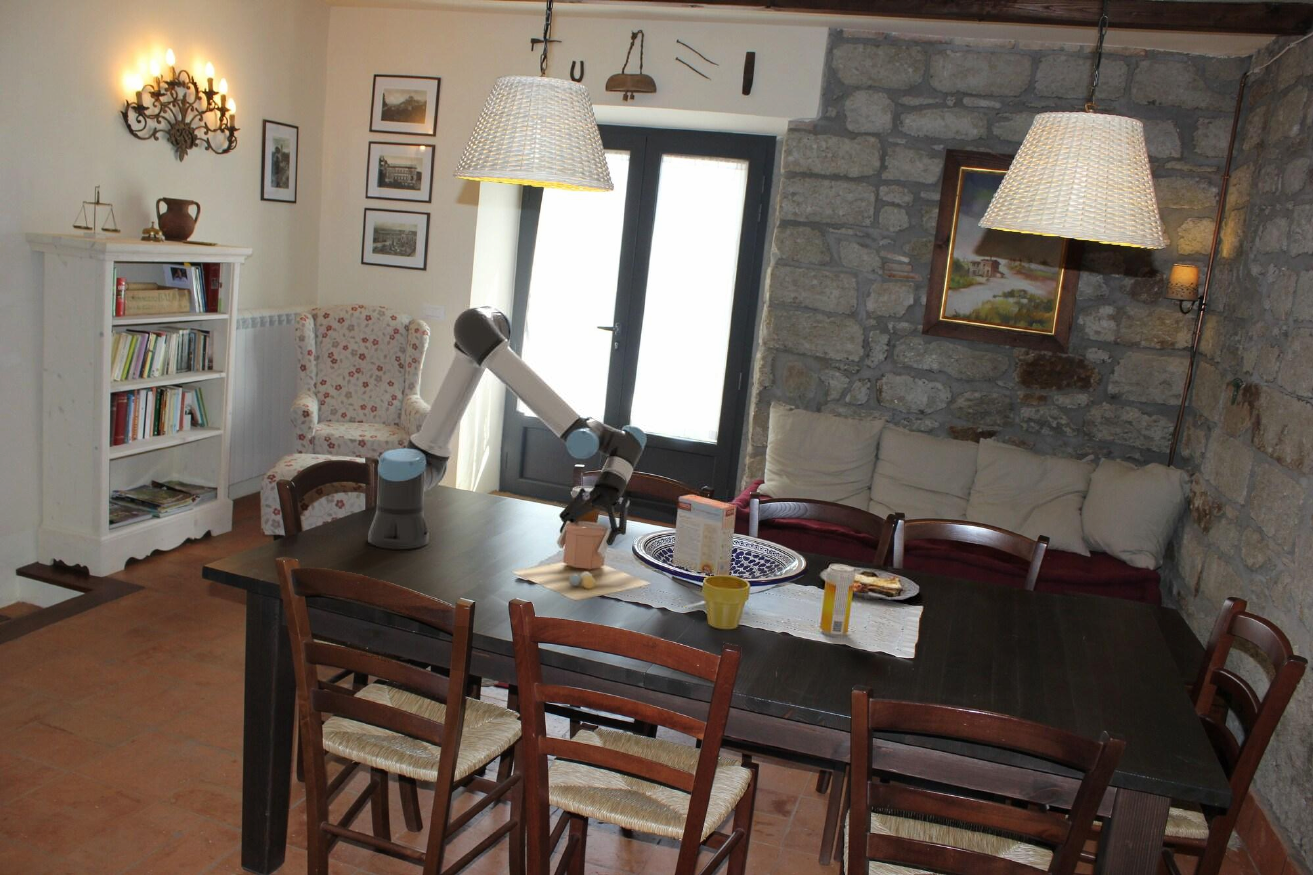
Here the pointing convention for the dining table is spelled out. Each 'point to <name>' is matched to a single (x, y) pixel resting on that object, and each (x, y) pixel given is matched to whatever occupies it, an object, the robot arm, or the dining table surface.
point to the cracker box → (704, 535)
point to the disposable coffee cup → (591, 515)
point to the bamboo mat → (559, 582)
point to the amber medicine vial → (837, 600)
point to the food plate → (880, 584)
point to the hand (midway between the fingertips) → (579, 550)
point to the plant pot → (725, 600)
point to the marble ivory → (585, 575)
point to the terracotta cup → (584, 544)
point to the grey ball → (575, 580)
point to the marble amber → (588, 582)
